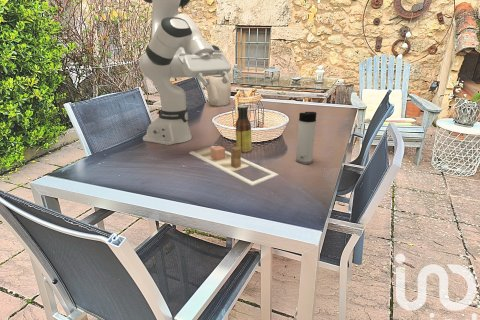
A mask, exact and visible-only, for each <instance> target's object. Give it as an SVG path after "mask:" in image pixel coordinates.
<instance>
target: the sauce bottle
mask: <svg viewBox="0 0 480 320" xmlns="http://www.w3.org/2000/svg"><path fill="white" fill-rule="evenodd" d="M248 110H249V107H248V105H243V104H241V105H238V106H237V119H236V121H235V139H236V140H235V141H236V142H235V143H236V146H235V147H238V148H241V154H242V153H243V154H244V153H250V152H252V144H253V143H252V126H251V122H250V119H249V117H248V116H249V115H248Z"/></svg>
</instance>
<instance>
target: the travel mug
mask: <svg viewBox="0 0 480 320" xmlns="http://www.w3.org/2000/svg"><path fill="white" fill-rule="evenodd" d="M317 114H318V113H317V112H316V111H304V112H299V116H298V117H299V118H298V126H297V127H298V128H297V140H296V141H297V143H296V155H295V161H296V163H298V164H301V165H310V164H312V163H313V157H314V147H315V145H314V144H315V134H316V126H317V125H316V123H317Z"/></svg>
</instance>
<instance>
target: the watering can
mask: <svg viewBox="0 0 480 320" xmlns="http://www.w3.org/2000/svg"><path fill="white" fill-rule="evenodd" d="M207 79H208V81H209V84H208V85H207V86H206V92H207V98H208V101H209V104H210V105H212V106H213V107H214V106H217V107H221V106H222V107H223V106H227V105H229V103H230V101H231V95H232V82H231V79H230V77H229V75H227V79H228V83H226V84H224V83H223V82H222V79H223V77H221V75H213V76H208V78H207Z"/></svg>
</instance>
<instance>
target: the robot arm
mask: <svg viewBox="0 0 480 320" xmlns="http://www.w3.org/2000/svg"><path fill="white" fill-rule="evenodd" d="M143 1H144V2H145V3H149V4H152V7H151V9H152V10H151V25H150V40H149V42H148V44H147V46H146V47H145V53H143V54H142V55H141V56H140V58H139V61H138V62H139V70H140V73H142V75H143V76H145V77H146V78H148V79H149V80H150V81H151V82H152V84H154V86H155V87H156V89H157V91H158V95H159V98H160V104H161V108H160V109H159V110H158V111H157V112H156V115H158V117H157V118H156V119H154V120H153V121H152V122H151V123H149V125H148V127H147V132H146V134H145V135H143V136H142V141H144V142H150V143H154V144H155V143H156V144H160V145H166V146H170V145H174V144H180V143H187V142H188V141H190V140H191V139H193V138H192V137H193V136H192V133H191V131H190V126H189V112H188V111H189V110H188V107H187V98H186V92H185V90H184V89H183V88H182V87H180V86H179V85H176V84H174V83H172V81H171V80H170V79H173V78H174V79H175V78H176V79H177V78H196V79H197V80H198V81H199V82H201V83H202V85H203V86H204V87H205V86H206V87H207V85H208V84H209V81H208V78H206V77H210V76H213V75H221V77H223V79H222V82H223V83H224V84H226V83H228V79H227V76H228V74H229V73H230V72H231V70H232V66H231V64H230V61H229V60H228V58H227V56H226V55H225V54H224V53H222V47H220V46H218V45H214V44H212V43H210V42H207V41H206V39H205V38H204V37H203V36H202V32H201V30H200V28H199V27H198V26H197V23H195V21H194V20H193V19H192V18H191V17H190V16H189V15H188V14H186V13H179V8H180V7H181V8H180V9H181V10H183V9H184V7H186V6H187V5H188V4H189V3H190V1H191V0H143Z"/></svg>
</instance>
